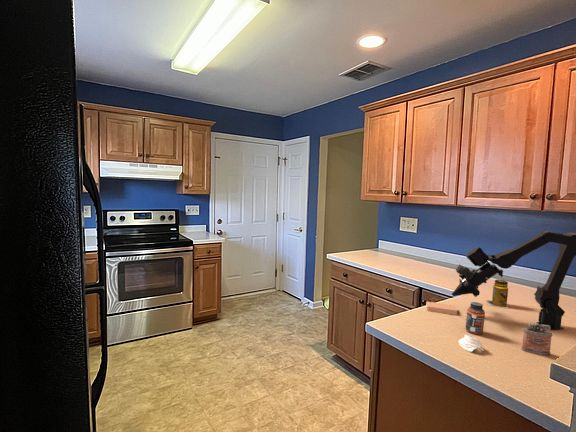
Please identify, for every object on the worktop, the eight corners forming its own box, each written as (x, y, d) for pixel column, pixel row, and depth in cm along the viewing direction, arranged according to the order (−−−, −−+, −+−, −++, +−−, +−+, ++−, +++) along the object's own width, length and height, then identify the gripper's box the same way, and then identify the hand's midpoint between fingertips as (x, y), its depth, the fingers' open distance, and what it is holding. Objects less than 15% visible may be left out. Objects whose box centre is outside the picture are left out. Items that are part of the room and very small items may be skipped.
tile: (454, 305, 146) (426, 301, 150) (457, 310, 139) (427, 306, 143) (454, 310, 146) (426, 306, 150) (456, 316, 139) (427, 311, 144)
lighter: (523, 351, 109) (525, 323, 108) (519, 347, 112) (522, 319, 111) (551, 356, 106) (555, 328, 105) (547, 352, 109) (550, 324, 108)
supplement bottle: (476, 336, 119) (478, 307, 118) (461, 329, 125) (464, 301, 124) (486, 333, 122) (489, 305, 121) (472, 327, 127) (474, 300, 126)
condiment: (508, 308, 149) (510, 283, 148) (487, 304, 154) (489, 280, 152) (506, 303, 156) (508, 280, 155) (486, 300, 160) (488, 277, 159)
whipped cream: (454, 346, 113) (453, 332, 113) (468, 342, 115) (468, 329, 115) (473, 356, 106) (472, 341, 105) (488, 351, 108) (487, 337, 107)
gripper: (465, 255, 148) (437, 275, 153) (473, 264, 130) (441, 286, 135) (483, 274, 146) (454, 294, 151) (493, 285, 128) (460, 307, 133)
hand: (452, 295), depth 142 cm, fingers closed
